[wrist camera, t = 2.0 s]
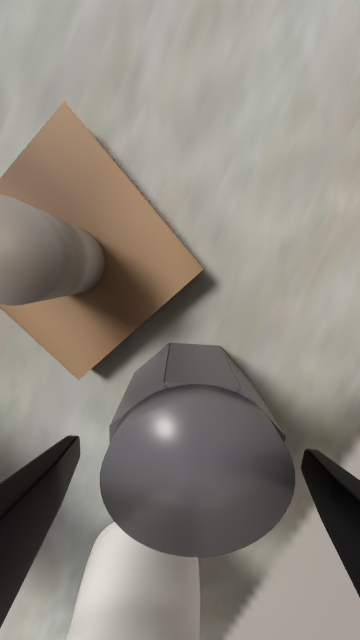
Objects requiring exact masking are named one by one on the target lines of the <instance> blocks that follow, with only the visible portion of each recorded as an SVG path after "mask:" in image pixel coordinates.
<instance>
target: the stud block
mask: <svg viewBox="0 0 360 640" xmlns="http://www.w3.org/2000/svg"><path fill="white" fill-rule="evenodd" d="M202 270H203V268H202V267H201V265H200V264H199V263H198V262H197V260H196V259H195V258H194V257H193V256H192V254H191V253H190V252H189V251H188V250H187V248H186V247H185V246H184V245H183V244H182V242H181V241H180V240H179V239H178V238H177V236H176V235H175V234H174V233H173V232H172V230H171V229H170V228H169V227H168V226H167V224H166V223H165V222H164V221H163V220H162V218H161V217H160V216H159V215H158V214H157V212H156V211H155V210H154V209H153V208H152V206H151V205H150V204H149V203H148V201H147V200H146V199H145V198H144V197H143V195H142V194H141V193H140V192H139V191H138V189H137V188H136V187H135V186H134V185H133V183H132V182H131V181H130V180H129V179H128V177H127V176H126V175H125V174H124V173H123V171H122V170H121V169H120V168H119V167H118V165H117V164H116V163H115V162H114V161H113V159H112V158H111V157H110V156H109V155H108V153H107V152H106V151H105V150H104V149H103V147H102V146H101V145H100V144H99V142H98V141H97V140H96V139H95V138H94V136H93V135H92V134H91V133H90V132H89V130H88V129H87V128H86V127H85V126H84V124H83V123H82V122H81V121H80V120H79V118H78V117H77V116H76V115H75V114H74V112H73V111H72V110H71V109H70V108H69V106H68V105H67V104H66V103H65V102H63V103H62V104H61V105H60V107H59V108H58V109H57V110H56V112H55V113H54V114H53V115H52V116H51V118H50V119H49V120H48V121H47V122H46V124H45V125H44V126H43V127H42V128H41V130H40V131H39V132H38V133H37V134H36V136H35V137H34V138H33V139H32V141H31V142H30V143H29V144H28V145H27V147H26V148H25V149H24V150H23V151H22V153H21V154H20V155H19V156H18V157H17V159H16V160H15V161H14V162H13V163H12V165H11V166H10V167H9V168H8V170H7V171H6V172H5V173H4V174H3V176H2V177H1V178H0V308H1V309H2V310H3V311H4V312H5V313H6V314H7V315H8V316H10V317H11V318H12V319H13V320H14V321H15V322H16V323H17V324H18V325H19V326H20V327H21V328H23V329H24V330H25V331H26V332H27V333H28V334H29V335H30V336H31V337H32V338H33V339H35V340H36V341H37V342H38V343H39V344H40V345H41V346H42V347H43V348H44V349H45V350H46V351H48V352H49V353H50V354H51V355H52V356H53V357H54V358H55V359H56V360H57V361H58V362H60V363H61V364H62V365H63V366H64V367H65V368H66V369H67V370H68V371H69V372H70V373H71V374H73V375H74V376H75V377H76V378H77V379H78V380H79V379H80V378H81V377H83V376H84V375H85V374H86V373H87V372H88V371H89V370H91V369H92V368H93V367H94V366H95V365H96V364H97V363H98V362H100V361H101V360H102V359H103V358H104V357H105V356H106V355H107V354H109V353H110V352H111V351H112V350H113V349H114V348H115V347H116V346H118V345H119V344H120V343H121V342H122V341H123V340H124V339H126V338H127V337H128V336H129V335H130V334H131V333H132V332H133V331H135V330H136V329H137V328H138V327H139V326H140V325H141V324H142V323H144V322H145V321H146V320H147V319H148V318H149V317H150V316H151V315H153V314H154V313H155V312H156V311H157V310H158V309H159V308H160V307H162V306H163V305H164V304H165V303H166V302H167V301H168V300H170V299H171V298H172V297H173V296H174V295H175V294H176V293H177V292H179V291H180V290H181V289H182V288H183V287H184V286H185V285H186V284H188V283H189V282H190V281H191V280H192V279H193V278H194V277H195V276H197V275H198V274H199V273H200V272H201V271H202Z"/></svg>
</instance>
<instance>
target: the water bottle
mask: <svg viewBox="0 0 360 640" xmlns="http://www.w3.org/2000/svg"><path fill="white" fill-rule="evenodd" d="M199 633H200V580H199V563H198V557H182V556H175V555H170V554H166V553H163V552H159V551H156V550H154V549H151V548H149V547H146V546H145V545H143V544H141V543H139V542H137V541H136V540H134V539H133V538H131V537H130V536H129V535H127V534H126V533H125V532H124V531H123V530H122V529H121V528H120V527H119V526H118V525H117V524H116V523H115V522H113V523H111V524H110V525H108V526H107V527H106V528H105V529H104V530H103V531H102V532H101V533H100V534H99V536H98V537H97V539H96V541H95V543H94V545H93V548H92V550H91V553H90V556H89V559H88V562H87V565H86V569H85V572H84V575H83V579H82V582H81V586H80V589H79V593H78V597H77V601H76V605H75V610H74V614H73V619H72V623H71V627H70V630H69V633H68V635H67V638H66V640H200V637H199Z"/></svg>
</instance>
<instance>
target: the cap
mask: <svg viewBox="0 0 360 640" xmlns="http://www.w3.org/2000/svg"><path fill="white" fill-rule="evenodd" d="M109 428H110V445H109V447H108V450H107V452H106V455H105V457H104V460H103V462H102V467H101V471H100V489H101V495H102V499H103V502H104V504H105V507H106V509H107V511H108V513H109V514H110V516H111V517H112V519H113V520H114V522H115V523H116V524H117V525H118V526H119V527H120V528H121V529H122V530H123V531H124V532H125V533H126V534H127V535H129V536H130V537H131V538H133V539H134V540H136V541H137V542H139V543H141V544H143V545H145V546H146V547H149V548H151V549H154V550H156V551H159V552H163V553H166V554H170V555H175V556H182V557H210V556H217V555H222V554H226V553H230V552H233V551H236V550H239V549H241V548H244V547H246V546H248V545H250V544H252V543H254V542H256V541H257V540H258V539H260V538H261V537H263V536H264V535H266V534H267V533H268V532H269V531H270V530H271V529H273V527H274V526H275V525H276V524H277V523H278V522H279V521H280V519H281V518H282V517H283V515H284V514H285V512H286V510H287V508H288V506H289V504H290V502H291V499H292V496H293V492H294V486H295V471H294V465H293V461H292V458H291V456H290V453H289V451H288V449H287V447H286V445H285V444H284V441H285V434H284V433H283V431H282V430H281V428H280V427H279V425H278V424H277V422H276V420H275V419H274V417H273V416H272V414H271V413H270V411H269V409H268V408H267V406H266V405H265V403H264V402H263V400H262V399H261V397H260V395H259V394H258V392H257V391H256V389H255V388H254V386H253V384H252V383H251V381H250V380H249V379H248V377H247V376H246V375H245V374H244V373H243V372H242V371H241V370H240V368H239V367H238V366H237V365H236V364H235V363H234V362H233V361H232V359H231V358H230V357H229V356H228V355H227V354H226V353H225V351H224V350H223V349H222V348H221V347H219V346H212V345H196V344H180V343H169V344H168V345H167V346H166V347H164V348H163V349H162V350H161V351H160V352H158V353H157V354H156V355H155V356H154V357H153V358H151V359H150V360H149V361H148V362H147V363H145V364H144V365H143V366H142V367H141V368H139V369H138V370H137V371H136V372H135V373H134V375H133V377H132V379H131V381H130V383H129V385H128V388H127V390H126V392H125V394H124V396H123V398H122V401H121V403H120V405H119V407H118V409H117V411H116V413H115V416H114V418H113V420H112V422H111V424H110V426H109Z"/></svg>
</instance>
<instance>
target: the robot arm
mask: <svg viewBox="0 0 360 640" xmlns="http://www.w3.org/2000/svg"><path fill="white" fill-rule="evenodd" d="M79 458H80V439H79V437H78V436H71V435H69V436H67V437H65V438H64V439H62V440H61V441H59V442H58V443H57V444H55V445H54V446H52V447H51V448H50V449H48V450H47V451H45V452H44V453H42V454H41V455H40V456H38V457H37V458H35V459H34V460H33V461H31V462H30V463H28V464H27V465H26V466H24V467H23V468H21V469H20V470H18V471H17V472H16V473H14V474H13V475H11V476H10V477H9V478H7V479H6V480H4V481H3V482H2V483H0V628H1V626H2V624H3V622H4V620H5V618H6V616H7V614H8V612H9V610H10V608H11V606H12V604H13V602H14V600H15V598H16V596H17V594H18V592H19V590H20V588H21V585H22V583H23V581H24V579H25V577H26V575H27V573H28V571H29V569H30V567H31V565H32V563H33V561H34V559H35V557H36V555H37V553H38V551H39V549H40V547H41V545H42V543H43V541H44V539H45V537H46V535H47V533H48V531H49V529H50V527H51V525H52V523H53V521H54V519H55V517H56V515H57V513H58V510H59V508H60V506H61V504H62V501H63V499H64V497H65V494H66V491H67V489H68V486H69V484H70V481H71V479H72V476H73V474H74V471H75V469H76V466H77V463H78V461H79ZM301 470H302V473H303V476H304V478H305V481H306V483H307V486H308V488H309V491H310V493H311V496H312V498H313V501H314V503H315V506H316V508H317V511H318V513H319V515H320V518H321V520H322V522H323V524H324V526H325V528H326V530H327V532H328V534H329V536H330V538H331V540H332V542H333V544H334V546H335V548H336V550H337V552H338V554H339V556H340V558H341V560H342V562H343V565H344V567H345V569H346V570H347V573H348V574H349V577H350V579H351V580H352V583H353V585H354V587H355V589H356V590H357V593H358V594H359V597H360V480H359V479H357V478H356V477H354V476H353V475H352V474H350V473H349V472H347V471H346V470H345V469H343V468H342V467H340V466H339V465H338V464H336V463H335V462H333V461H332V460H331V459H329V458H328V457H326V456H325V455H324V454H322V453H321V452H319V451H318V450H315V449H306V450H305V451H304V455H303V459H302V463H301Z"/></svg>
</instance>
